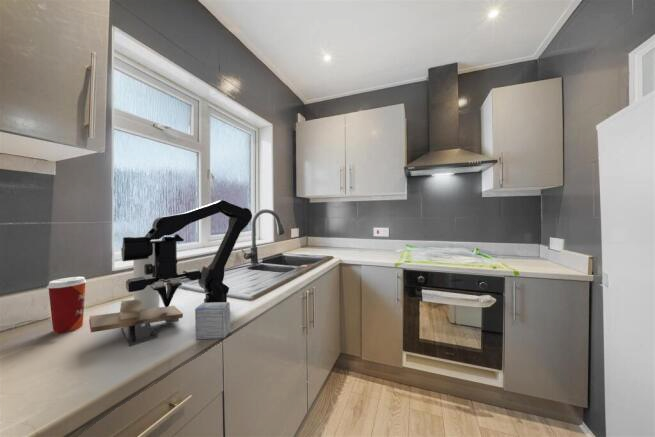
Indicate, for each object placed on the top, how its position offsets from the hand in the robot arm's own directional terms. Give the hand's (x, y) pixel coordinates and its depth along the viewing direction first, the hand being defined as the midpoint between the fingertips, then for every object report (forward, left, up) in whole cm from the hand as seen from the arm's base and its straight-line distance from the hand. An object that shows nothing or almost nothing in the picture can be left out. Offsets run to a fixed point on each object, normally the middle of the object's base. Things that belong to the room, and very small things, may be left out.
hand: (166, 306), depth 73 cm
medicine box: (-7, +18, -6) cm, 20 cm away
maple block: (+9, 0, 0) cm, 9 cm away
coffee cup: (+21, -20, -6) cm, 30 cm away
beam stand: (+7, 0, -6) cm, 9 cm away
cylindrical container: (+2, -18, -6) cm, 19 cm away
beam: (+7, 0, -3) cm, 8 cm away
